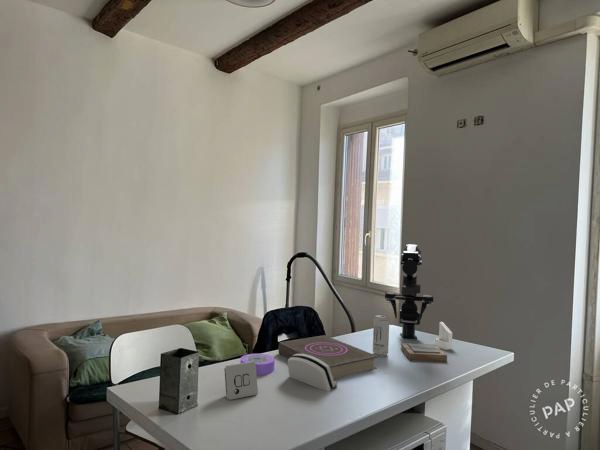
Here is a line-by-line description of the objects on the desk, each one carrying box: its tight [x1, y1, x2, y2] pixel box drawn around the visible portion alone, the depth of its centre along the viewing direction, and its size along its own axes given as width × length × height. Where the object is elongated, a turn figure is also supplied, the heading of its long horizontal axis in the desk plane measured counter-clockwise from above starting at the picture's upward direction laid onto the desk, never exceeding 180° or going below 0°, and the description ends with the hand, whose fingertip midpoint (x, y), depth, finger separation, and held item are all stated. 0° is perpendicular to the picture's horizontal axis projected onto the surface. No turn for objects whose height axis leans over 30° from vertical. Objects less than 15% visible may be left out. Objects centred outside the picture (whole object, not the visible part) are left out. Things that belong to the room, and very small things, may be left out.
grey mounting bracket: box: [286, 354, 338, 393], centre depth 136 cm, size 17×5×10 cm, turn 47°
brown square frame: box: [400, 342, 448, 363], centre depth 168 cm, size 14×14×3 cm
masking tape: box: [239, 353, 276, 376], centre depth 147 cm, size 12×12×4 cm
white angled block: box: [434, 321, 453, 351], centre depth 181 cm, size 4×10×9 cm, turn 25°
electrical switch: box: [224, 362, 259, 401], centre depth 125 cm, size 9×5×9 cm, turn 121°
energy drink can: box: [372, 314, 390, 357], centre depth 167 cm, size 6×6×15 cm
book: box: [278, 334, 378, 380], centre depth 158 cm, size 30×22×5 cm
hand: (407, 319), depth 170 cm, fingers open, 9 cm apart
